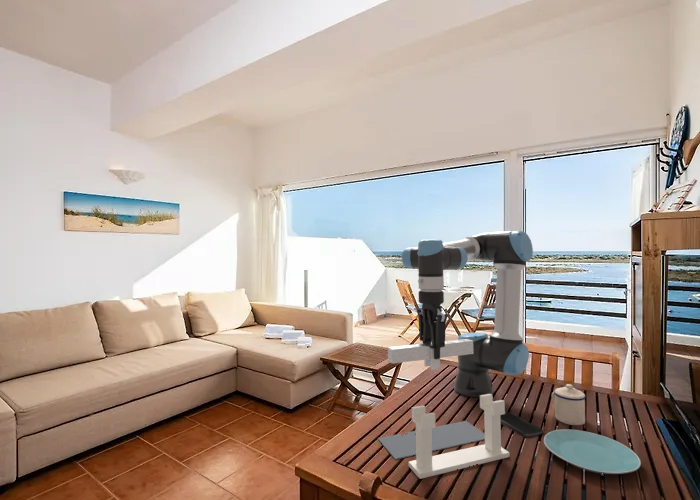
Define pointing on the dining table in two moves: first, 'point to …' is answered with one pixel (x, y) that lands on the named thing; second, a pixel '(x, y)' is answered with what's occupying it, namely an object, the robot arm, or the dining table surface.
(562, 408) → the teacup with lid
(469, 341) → the steel rail
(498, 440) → the rail cradle stand
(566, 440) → the plate
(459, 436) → the slate mat
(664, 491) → the dining table surface
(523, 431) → the phone
